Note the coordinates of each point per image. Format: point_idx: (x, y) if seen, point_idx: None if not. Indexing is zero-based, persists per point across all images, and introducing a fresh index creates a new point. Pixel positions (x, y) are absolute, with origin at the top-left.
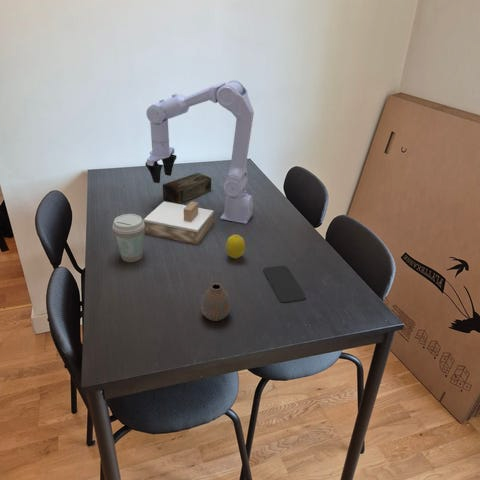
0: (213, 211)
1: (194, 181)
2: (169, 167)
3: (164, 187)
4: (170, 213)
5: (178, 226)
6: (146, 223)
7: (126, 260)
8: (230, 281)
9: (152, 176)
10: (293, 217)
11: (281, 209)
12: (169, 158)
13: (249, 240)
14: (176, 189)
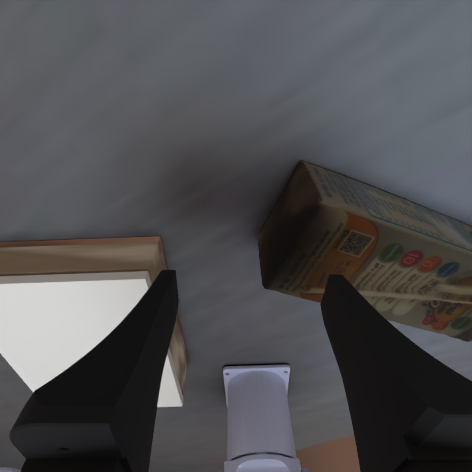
0: (182, 403)
1: (414, 307)
2: (344, 358)
3: (302, 213)
4: (70, 336)
5: (21, 377)
6: None
7: None
8: (13, 425)
9: (142, 305)
10: (300, 443)
11: (333, 428)
12: (375, 458)
13: (162, 418)
14: (279, 287)
